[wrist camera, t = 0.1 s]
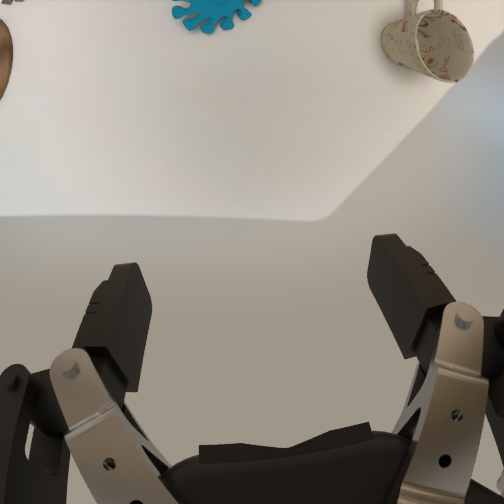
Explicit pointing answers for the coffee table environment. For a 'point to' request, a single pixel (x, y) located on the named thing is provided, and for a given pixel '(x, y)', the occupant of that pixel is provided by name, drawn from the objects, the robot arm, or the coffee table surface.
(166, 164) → the coffee table surface
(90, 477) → the robot arm
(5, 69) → the carrier disc
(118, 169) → the coffee table surface
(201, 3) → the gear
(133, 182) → the coffee table surface
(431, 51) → the mug
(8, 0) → the gear
